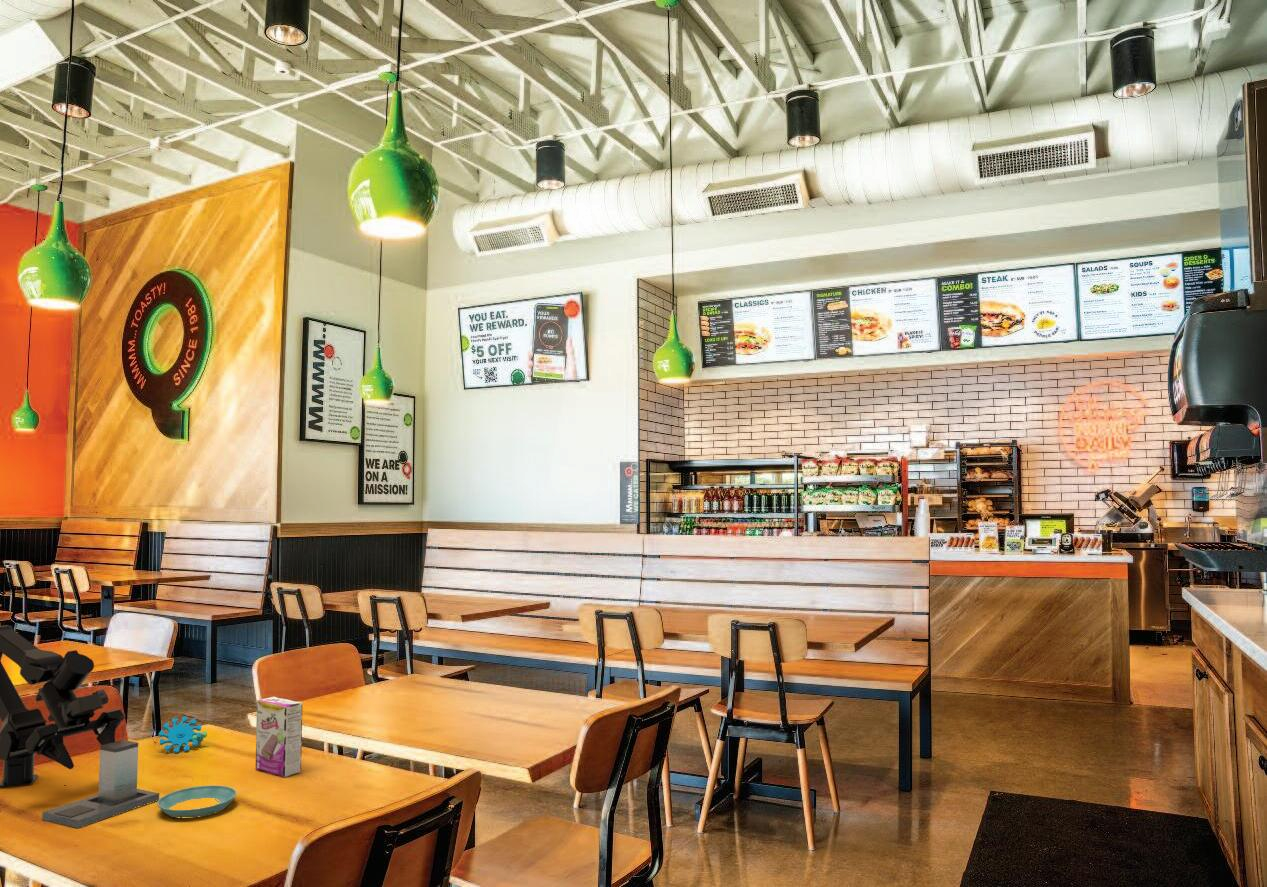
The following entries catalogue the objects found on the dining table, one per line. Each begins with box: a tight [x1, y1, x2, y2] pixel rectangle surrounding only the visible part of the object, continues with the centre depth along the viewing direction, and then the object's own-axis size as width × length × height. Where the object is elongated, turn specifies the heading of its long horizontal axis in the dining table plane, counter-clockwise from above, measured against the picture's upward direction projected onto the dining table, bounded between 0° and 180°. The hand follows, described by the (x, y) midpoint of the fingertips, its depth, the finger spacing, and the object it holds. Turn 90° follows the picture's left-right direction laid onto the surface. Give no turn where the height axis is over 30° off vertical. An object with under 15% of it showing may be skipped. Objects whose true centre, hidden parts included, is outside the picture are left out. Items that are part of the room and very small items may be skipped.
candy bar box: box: [255, 696, 303, 778], centre depth 208 cm, size 11×5×16 cm, turn 58°
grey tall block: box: [97, 739, 139, 806], centre depth 186 cm, size 5×5×12 cm
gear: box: [158, 716, 208, 754], centre depth 227 cm, size 11×6×10 cm
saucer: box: [156, 785, 238, 819], centre depth 183 cm, size 15×15×3 cm
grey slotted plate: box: [41, 788, 160, 829], centre depth 182 cm, size 11×18×2 cm, turn 155°
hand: (93, 761), depth 189 cm, fingers open, 9 cm apart
